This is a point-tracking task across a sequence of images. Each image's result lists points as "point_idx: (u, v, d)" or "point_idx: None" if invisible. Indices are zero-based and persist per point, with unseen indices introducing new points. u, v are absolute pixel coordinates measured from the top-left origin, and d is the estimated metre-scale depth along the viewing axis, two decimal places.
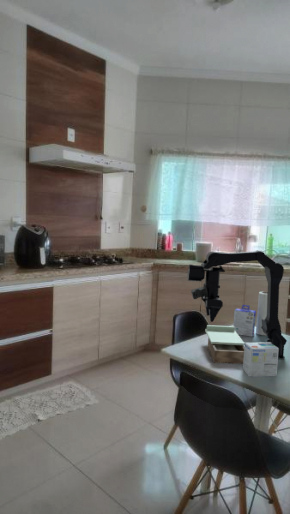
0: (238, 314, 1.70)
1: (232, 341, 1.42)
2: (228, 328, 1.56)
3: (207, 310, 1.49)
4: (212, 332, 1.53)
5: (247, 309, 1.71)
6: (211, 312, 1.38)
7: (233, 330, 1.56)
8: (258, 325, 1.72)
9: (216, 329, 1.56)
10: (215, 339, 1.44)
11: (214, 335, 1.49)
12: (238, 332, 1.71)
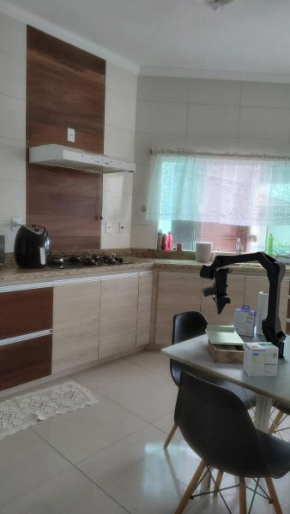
0: (238, 314, 1.70)
1: (232, 341, 1.42)
2: (228, 328, 1.56)
3: None
4: (212, 332, 1.53)
5: (247, 309, 1.71)
6: (218, 306, 1.60)
7: (233, 330, 1.56)
8: (258, 325, 1.72)
9: (216, 329, 1.56)
10: (215, 339, 1.44)
11: (214, 335, 1.49)
12: (238, 332, 1.71)
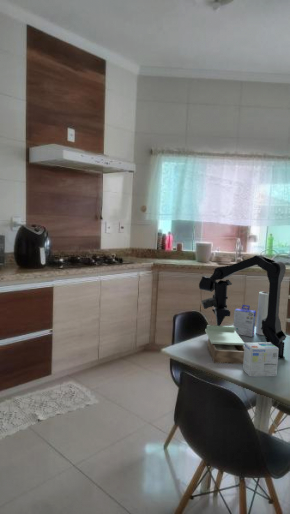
0: (238, 314, 1.70)
1: (232, 341, 1.42)
2: (228, 328, 1.56)
3: None
4: (212, 332, 1.53)
5: (247, 309, 1.71)
6: (218, 318, 1.60)
7: (233, 330, 1.56)
8: (258, 325, 1.72)
9: (216, 329, 1.56)
10: (215, 339, 1.44)
11: (214, 335, 1.49)
12: (238, 332, 1.71)
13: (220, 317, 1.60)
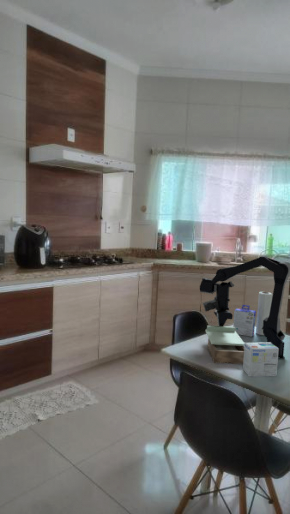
0: (238, 314, 1.70)
1: (232, 342, 1.42)
2: (228, 329, 1.55)
3: None
4: (212, 332, 1.52)
5: (247, 309, 1.71)
6: (220, 320, 1.56)
7: (233, 330, 1.55)
8: (258, 325, 1.72)
9: (216, 329, 1.55)
10: (215, 340, 1.43)
11: (214, 336, 1.48)
12: (238, 332, 1.71)
13: (222, 320, 1.56)
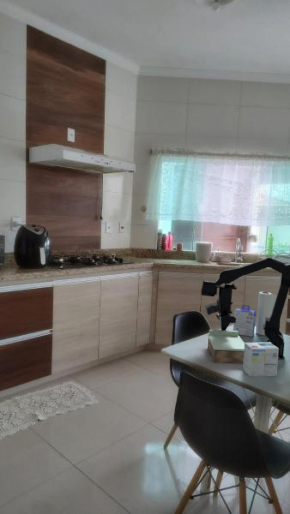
0: (238, 314, 1.70)
1: (236, 347, 1.36)
2: (231, 333, 1.49)
3: None
4: (215, 337, 1.46)
5: (247, 309, 1.71)
6: (222, 324, 1.50)
7: (237, 335, 1.49)
8: (258, 325, 1.72)
9: (219, 334, 1.49)
10: (218, 345, 1.37)
11: (217, 340, 1.42)
12: (238, 332, 1.71)
13: (225, 323, 1.50)
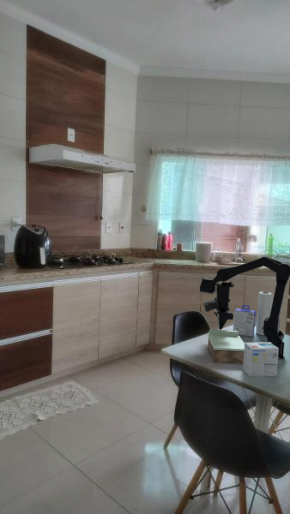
0: (238, 314, 1.70)
1: (236, 347, 1.36)
2: (232, 333, 1.49)
3: None
4: (215, 337, 1.46)
5: (247, 309, 1.71)
6: (220, 321, 1.54)
7: (237, 335, 1.49)
8: (258, 325, 1.72)
9: (219, 334, 1.49)
10: (218, 345, 1.37)
11: (217, 340, 1.42)
12: (238, 332, 1.71)
13: (222, 320, 1.54)
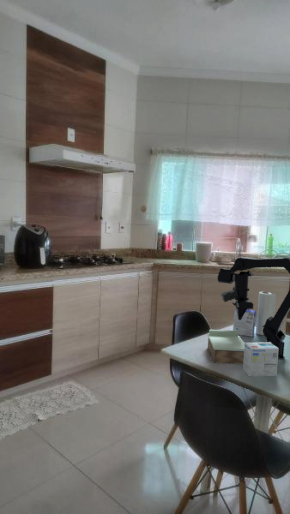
0: None
1: (236, 347, 1.36)
2: (232, 333, 1.49)
3: None
4: (215, 337, 1.46)
5: (247, 309, 1.71)
6: (239, 311, 1.51)
7: (237, 335, 1.49)
8: (258, 325, 1.72)
9: (219, 334, 1.49)
10: (218, 345, 1.37)
11: (217, 340, 1.42)
12: (238, 332, 1.71)
13: (241, 310, 1.51)
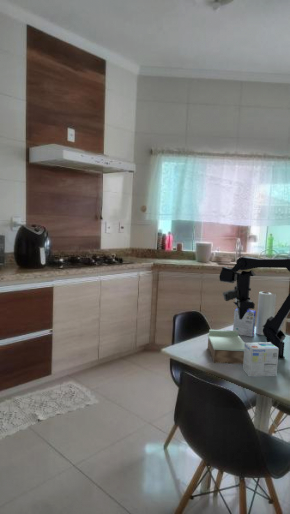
0: None
1: (236, 347, 1.36)
2: (232, 333, 1.49)
3: None
4: (215, 337, 1.46)
5: None
6: (240, 310, 1.51)
7: (237, 335, 1.49)
8: (258, 325, 1.72)
9: (219, 334, 1.49)
10: (218, 345, 1.37)
11: (217, 340, 1.42)
12: (238, 332, 1.71)
13: (242, 310, 1.51)
